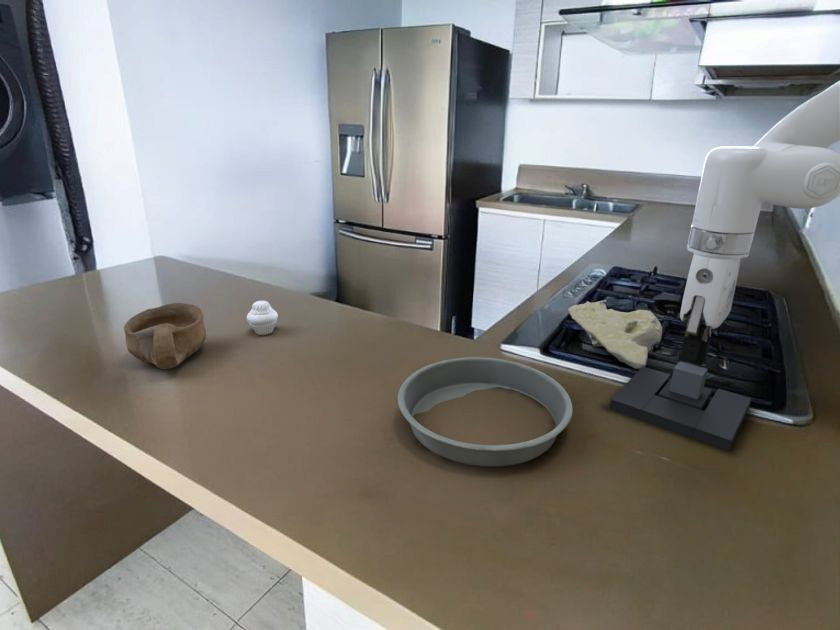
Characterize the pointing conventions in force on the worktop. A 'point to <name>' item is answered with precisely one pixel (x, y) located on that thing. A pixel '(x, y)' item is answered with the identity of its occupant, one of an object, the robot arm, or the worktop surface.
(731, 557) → the worktop surface
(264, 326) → the muffin
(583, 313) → the cheese
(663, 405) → the dark grey u-shaped block
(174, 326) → the bowl
